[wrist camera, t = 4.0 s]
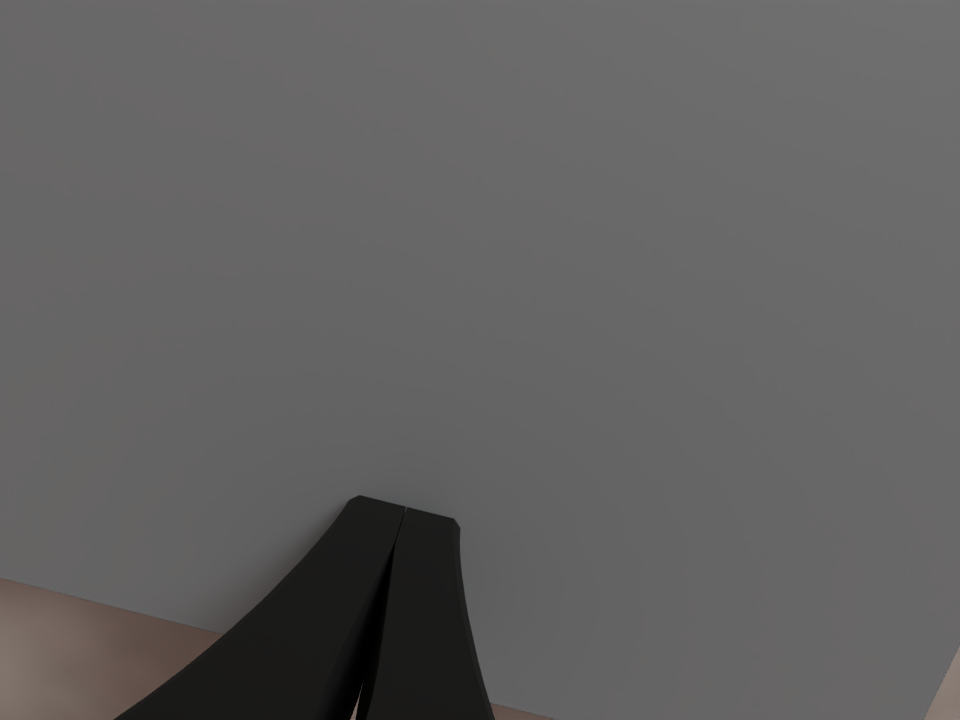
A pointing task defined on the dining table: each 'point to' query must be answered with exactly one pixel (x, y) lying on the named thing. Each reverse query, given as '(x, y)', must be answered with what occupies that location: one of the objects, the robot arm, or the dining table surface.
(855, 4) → the loose plank
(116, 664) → the dining table surface
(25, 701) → the dining table surface
